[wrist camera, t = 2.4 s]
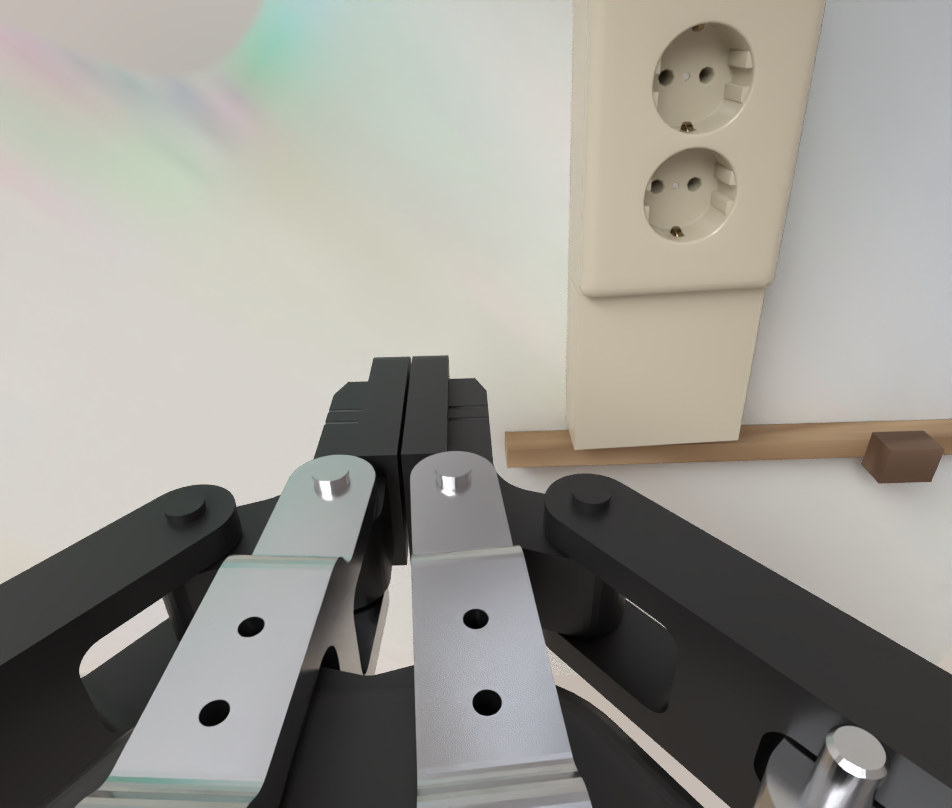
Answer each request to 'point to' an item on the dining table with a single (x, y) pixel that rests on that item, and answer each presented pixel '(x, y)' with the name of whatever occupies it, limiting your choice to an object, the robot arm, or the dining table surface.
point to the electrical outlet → (677, 207)
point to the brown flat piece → (765, 447)
